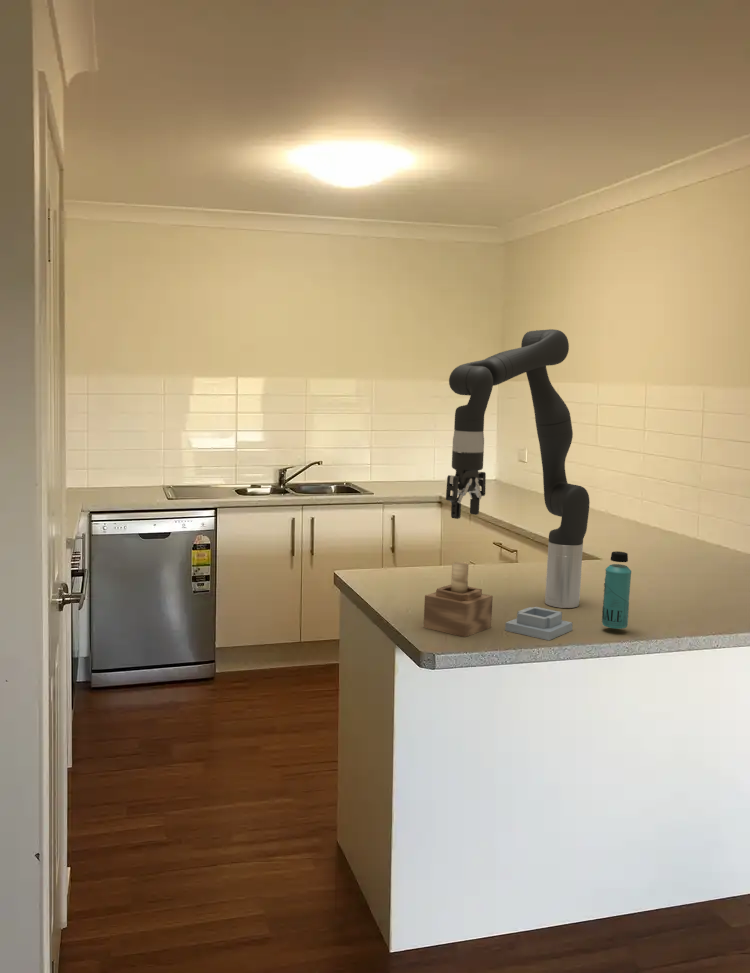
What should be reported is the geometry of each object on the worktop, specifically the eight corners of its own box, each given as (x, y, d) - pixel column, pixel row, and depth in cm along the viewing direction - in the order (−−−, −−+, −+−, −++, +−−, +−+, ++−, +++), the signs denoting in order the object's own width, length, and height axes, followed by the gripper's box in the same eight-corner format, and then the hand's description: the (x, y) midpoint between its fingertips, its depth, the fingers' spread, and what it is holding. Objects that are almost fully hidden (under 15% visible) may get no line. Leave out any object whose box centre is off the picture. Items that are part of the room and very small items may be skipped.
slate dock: (529, 621, 244) (530, 603, 243) (572, 630, 236) (573, 612, 236) (505, 630, 234) (506, 612, 234) (549, 640, 227) (550, 622, 226)
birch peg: (456, 592, 237) (458, 561, 236) (470, 595, 235) (471, 563, 234) (447, 595, 234) (449, 563, 233) (461, 598, 232) (462, 566, 231)
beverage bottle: (623, 627, 240) (628, 549, 238) (631, 635, 234) (636, 555, 231) (597, 627, 240) (602, 549, 238) (604, 634, 234) (610, 554, 231)
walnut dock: (450, 618, 244) (452, 581, 243) (491, 627, 237) (493, 589, 235) (423, 627, 235) (425, 589, 233) (464, 637, 227) (466, 598, 226)
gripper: (470, 446, 237) (467, 511, 239) (438, 450, 226) (435, 517, 228) (496, 449, 233) (493, 515, 235) (465, 452, 221) (462, 521, 223)
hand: (465, 516), depth 231 cm, fingers open, 8 cm apart
